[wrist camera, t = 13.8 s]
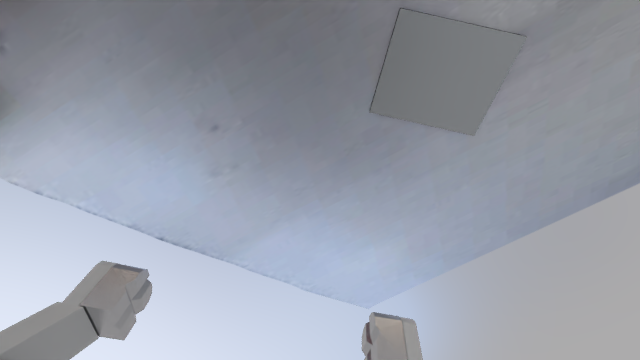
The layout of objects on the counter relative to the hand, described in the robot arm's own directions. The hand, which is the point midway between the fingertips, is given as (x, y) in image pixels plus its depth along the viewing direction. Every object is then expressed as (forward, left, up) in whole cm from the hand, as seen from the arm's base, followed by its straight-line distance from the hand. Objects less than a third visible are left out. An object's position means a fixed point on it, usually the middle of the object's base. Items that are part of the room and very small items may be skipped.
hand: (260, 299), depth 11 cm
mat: (+13, +2, -32) cm, 34 cm away
